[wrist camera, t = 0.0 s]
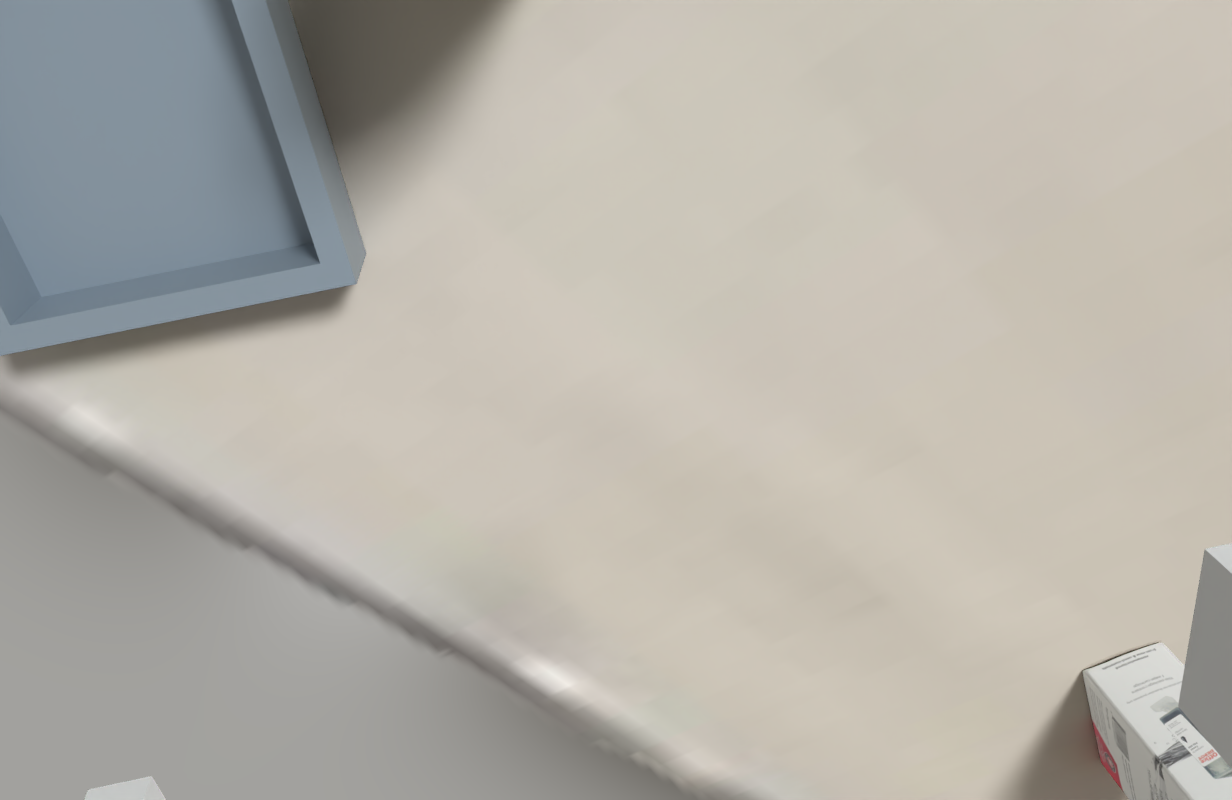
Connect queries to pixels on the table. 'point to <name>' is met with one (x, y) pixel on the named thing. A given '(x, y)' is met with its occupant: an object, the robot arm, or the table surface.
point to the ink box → (1152, 730)
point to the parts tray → (160, 167)
